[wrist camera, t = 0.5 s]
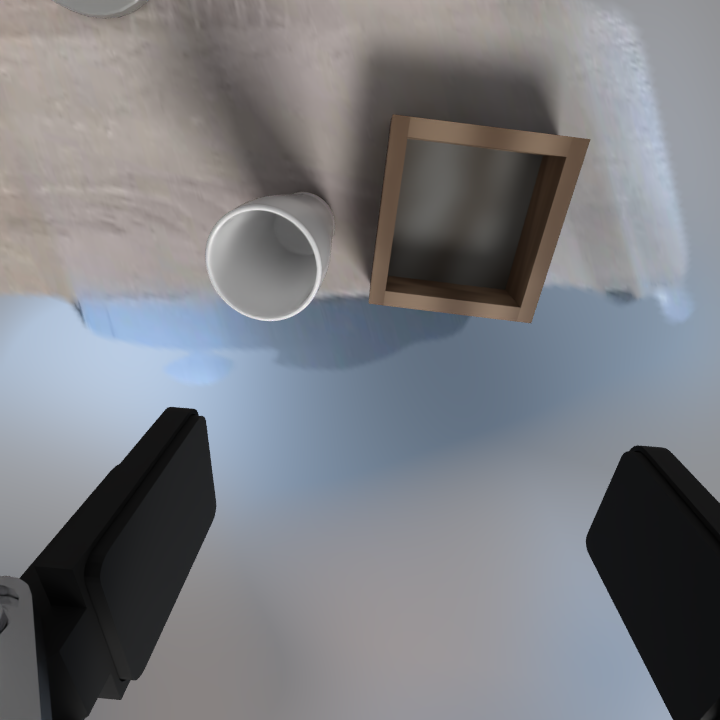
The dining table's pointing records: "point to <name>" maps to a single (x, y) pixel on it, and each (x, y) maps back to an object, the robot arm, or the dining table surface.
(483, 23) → the dining table surface
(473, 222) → the caddy
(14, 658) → the robot arm
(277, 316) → the drinking glass
